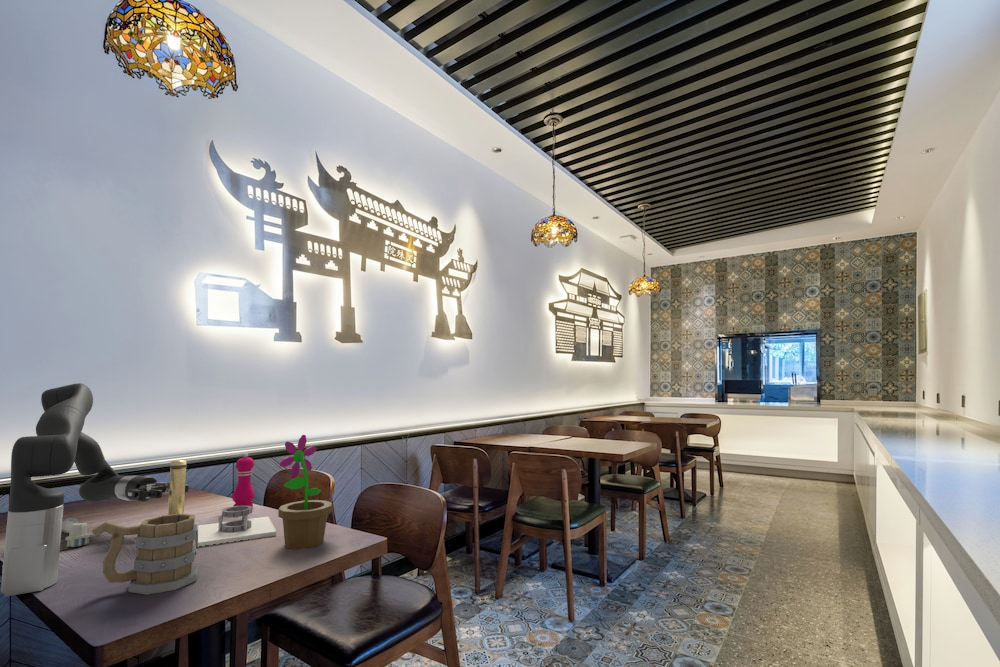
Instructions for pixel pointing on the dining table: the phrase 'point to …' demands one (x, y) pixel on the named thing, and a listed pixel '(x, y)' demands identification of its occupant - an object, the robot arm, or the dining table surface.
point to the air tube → (177, 487)
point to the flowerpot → (303, 503)
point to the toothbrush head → (75, 532)
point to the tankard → (154, 553)
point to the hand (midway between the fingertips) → (174, 491)
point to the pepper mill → (244, 482)
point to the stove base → (235, 527)
